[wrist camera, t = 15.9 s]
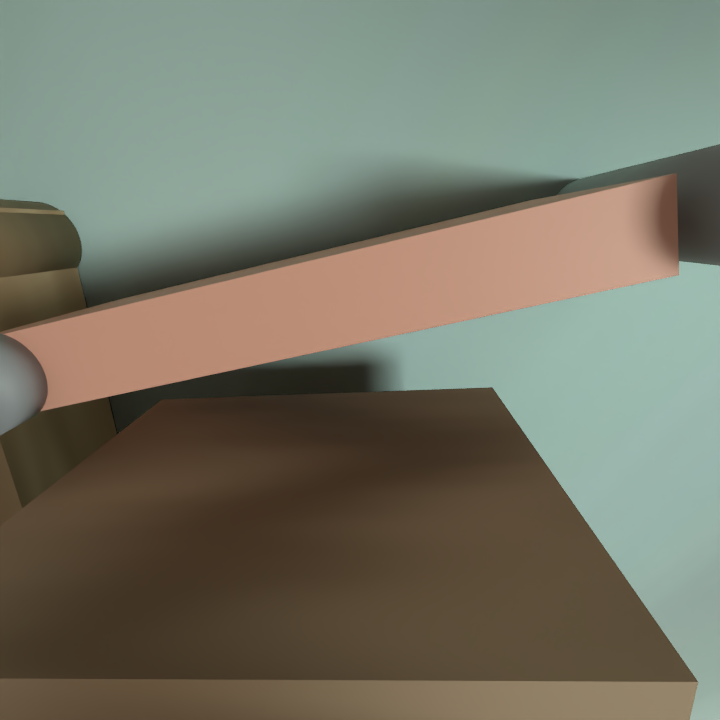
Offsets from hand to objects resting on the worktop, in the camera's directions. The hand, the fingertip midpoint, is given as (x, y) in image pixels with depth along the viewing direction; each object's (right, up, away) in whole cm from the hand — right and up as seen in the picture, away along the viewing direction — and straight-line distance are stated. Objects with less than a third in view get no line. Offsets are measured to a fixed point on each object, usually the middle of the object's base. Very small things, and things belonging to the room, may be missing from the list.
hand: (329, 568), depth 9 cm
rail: (+1, +7, +2) cm, 7 cm away
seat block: (0, 0, +1) cm, 1 cm away
